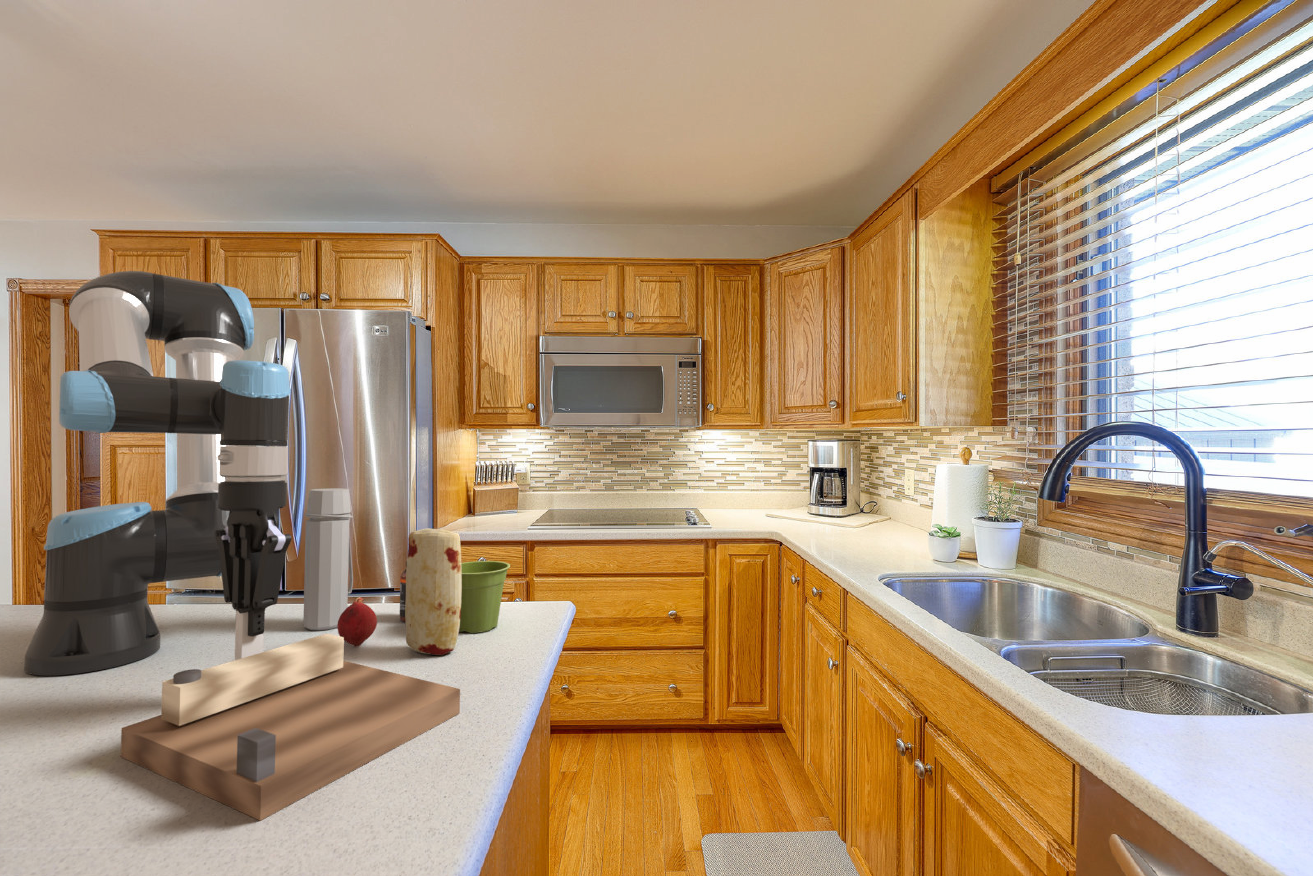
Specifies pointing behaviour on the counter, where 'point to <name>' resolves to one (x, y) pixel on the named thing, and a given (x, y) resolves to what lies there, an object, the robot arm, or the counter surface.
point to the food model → (433, 591)
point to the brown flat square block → (291, 737)
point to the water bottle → (327, 558)
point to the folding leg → (248, 678)
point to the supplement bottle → (403, 595)
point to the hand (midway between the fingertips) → (249, 659)
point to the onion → (357, 623)
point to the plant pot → (481, 594)
